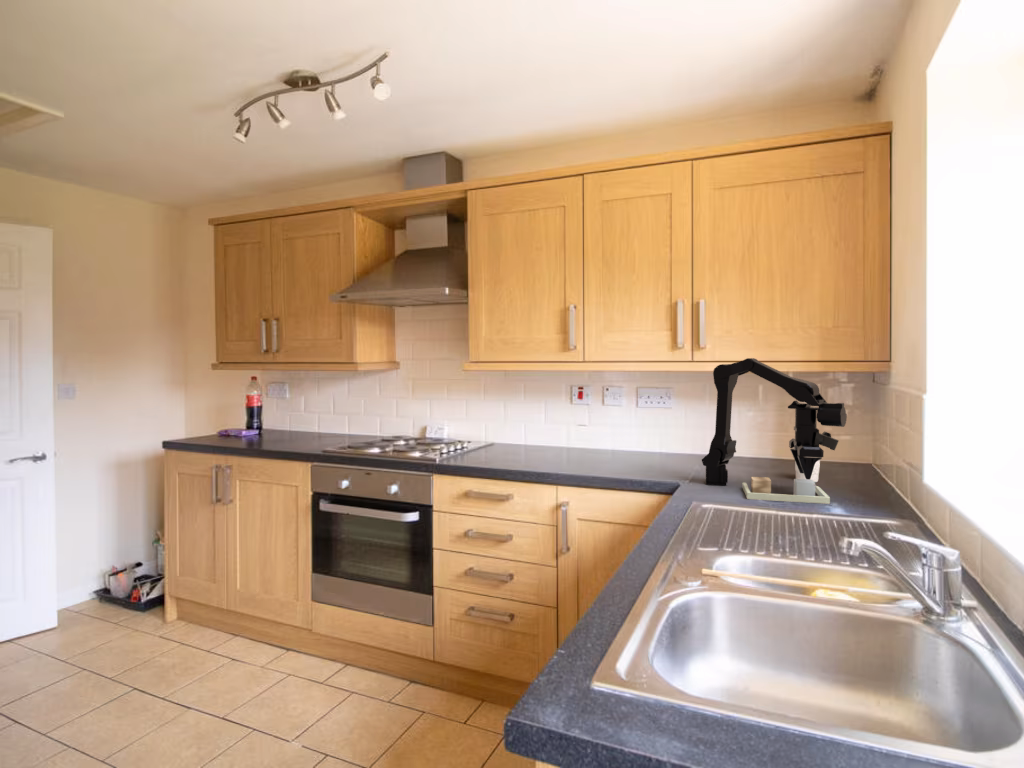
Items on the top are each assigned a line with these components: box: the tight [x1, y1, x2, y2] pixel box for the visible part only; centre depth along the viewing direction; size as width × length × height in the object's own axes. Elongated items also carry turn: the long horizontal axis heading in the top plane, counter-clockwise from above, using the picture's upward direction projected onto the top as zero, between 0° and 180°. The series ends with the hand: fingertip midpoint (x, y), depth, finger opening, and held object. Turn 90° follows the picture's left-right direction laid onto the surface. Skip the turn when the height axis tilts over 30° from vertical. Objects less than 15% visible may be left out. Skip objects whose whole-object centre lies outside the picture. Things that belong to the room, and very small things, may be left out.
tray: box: [742, 482, 831, 505], centre depth 176 cm, size 22×15×2 cm
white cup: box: [794, 460, 821, 483], centre depth 197 cm, size 8×8×10 cm
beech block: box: [750, 476, 772, 494], centre depth 177 cm, size 5×5×5 cm
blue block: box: [793, 478, 816, 496], centre depth 174 cm, size 5×5×5 cm
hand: (804, 476), depth 174 cm, fingers open, 9 cm apart
